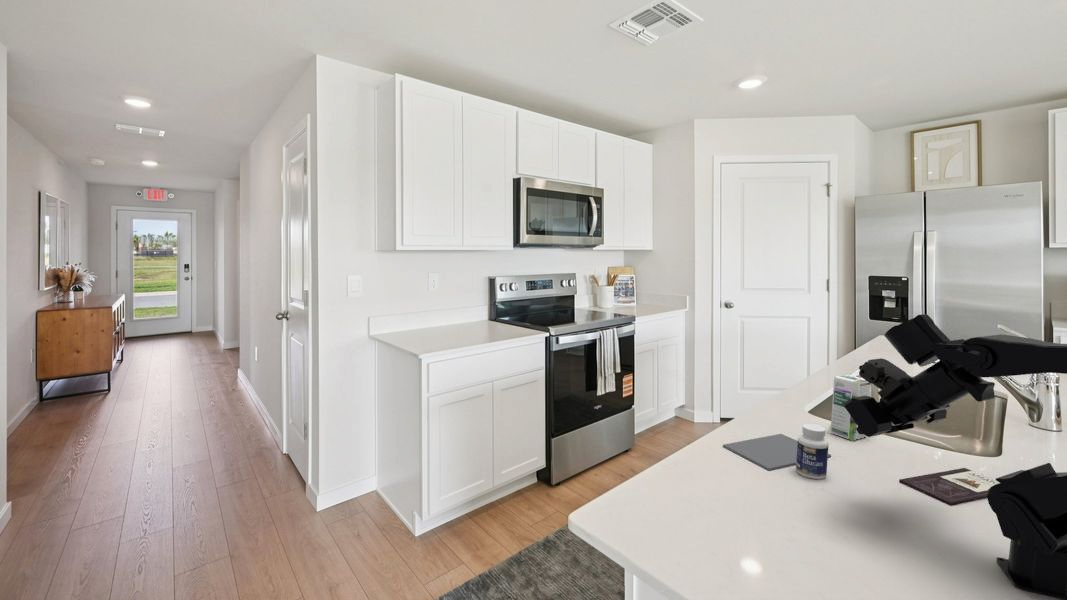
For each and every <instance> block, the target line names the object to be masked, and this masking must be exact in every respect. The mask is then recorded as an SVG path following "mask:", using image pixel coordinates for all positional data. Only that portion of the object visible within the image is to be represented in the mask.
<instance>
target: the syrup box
mask: <svg viewBox="0 0 1067 600" xmlns="http://www.w3.org/2000/svg"><path fill="white" fill-rule="evenodd" d="M871 386H872V383H869V382H867V381H866V380H865V379H863V378H862V377H860V376H854V375H850V374H841V375H836V376H834V377H833V390H832V403H831V404H832V407H831V420H830V429H829V431H830V432H829V433H830V434H832V435H836V436H838V437H841V438H844V439H847V440H850V441H851V442H853V441H854V440H855V441H857V440H856V439H858V440H861V439H860V438H862V439H865V438H868V437H867V436H866V435H864V434H861V435H860V434H859V433H858V432H857V430H856V428H857V427H858V425H857V424H856V422H855V421H854V420H853V418H852V417H851V415H850V414H849V413H848V411H847V410H846V408H845V407H844V403H845V402H847V401H848V400H850V399H851V398H854V397H860V396H869V397H871ZM864 437H865V438H864ZM855 441H854V442H855Z"/></svg>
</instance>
